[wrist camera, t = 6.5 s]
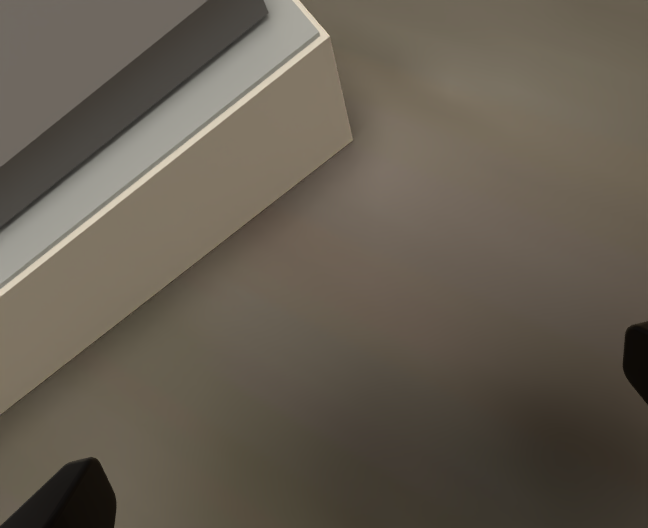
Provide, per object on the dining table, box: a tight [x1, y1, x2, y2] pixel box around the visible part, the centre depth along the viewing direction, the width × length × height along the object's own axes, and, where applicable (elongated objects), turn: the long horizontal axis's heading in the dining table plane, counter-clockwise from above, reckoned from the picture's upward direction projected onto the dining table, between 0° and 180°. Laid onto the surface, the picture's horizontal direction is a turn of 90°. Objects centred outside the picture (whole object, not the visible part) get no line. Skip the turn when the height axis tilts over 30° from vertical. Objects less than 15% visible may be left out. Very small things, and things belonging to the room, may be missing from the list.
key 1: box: [0, 0, 269, 227], centre depth 14 cm, size 6×12×2 cm, turn 127°
